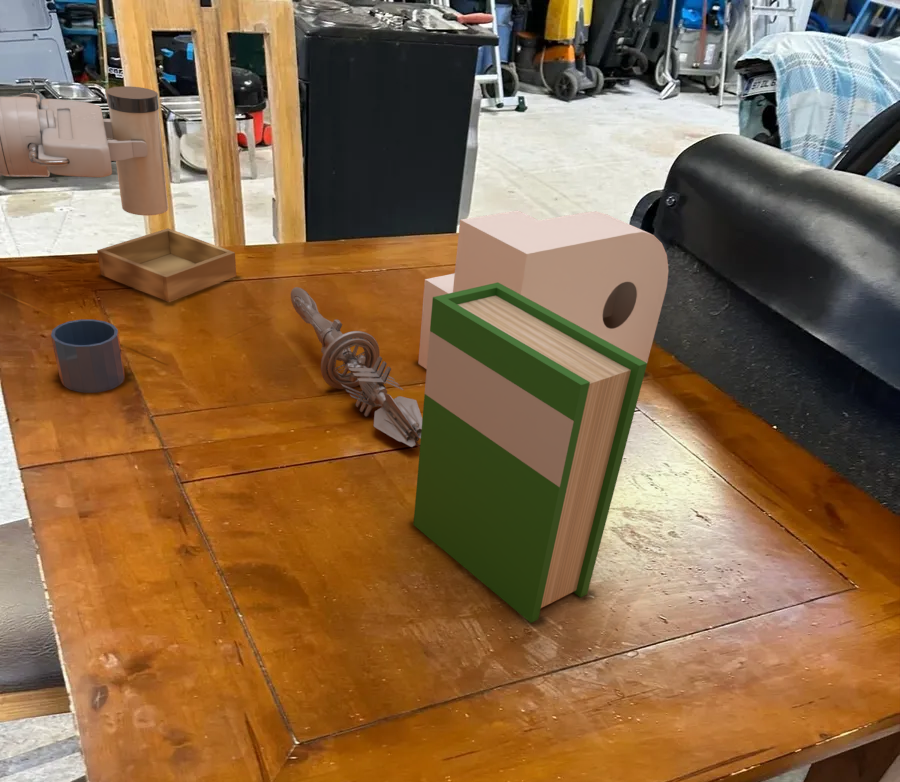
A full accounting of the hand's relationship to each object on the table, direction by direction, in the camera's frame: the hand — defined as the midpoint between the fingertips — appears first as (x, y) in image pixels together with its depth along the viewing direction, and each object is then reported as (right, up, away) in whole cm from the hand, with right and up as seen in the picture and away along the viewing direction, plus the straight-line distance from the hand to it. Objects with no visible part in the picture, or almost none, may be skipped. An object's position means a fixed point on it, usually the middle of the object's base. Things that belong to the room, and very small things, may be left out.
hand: (144, 139), depth 115 cm
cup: (-3, -33, -9) cm, 35 cm away
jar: (-2, -7, +5) cm, 9 cm away
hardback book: (+44, -56, -28) cm, 77 cm away
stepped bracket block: (+51, -29, +5) cm, 59 cm away
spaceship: (+27, -34, -4) cm, 43 cm away
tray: (-2, -12, +16) cm, 20 cm away
